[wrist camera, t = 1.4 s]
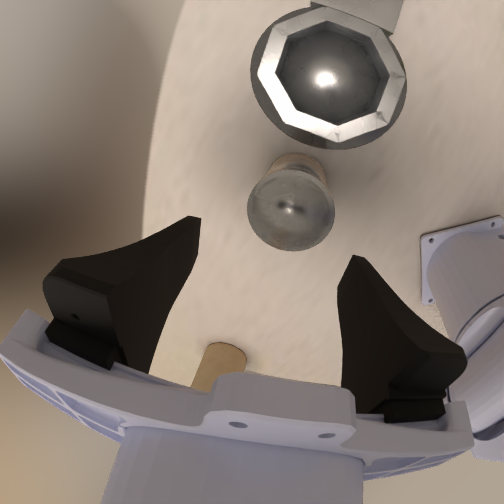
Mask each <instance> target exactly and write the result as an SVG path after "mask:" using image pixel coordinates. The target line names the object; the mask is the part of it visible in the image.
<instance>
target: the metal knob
mask: <svg viewBox="0 0 504 504" xmlns="http://www.w3.org/2000/svg"><path fill="white" fill-rule="evenodd" d="M247 214H248V219H249V222H250V225H251V227H252V229H253V230H254V232H255V233H256V234H257V235H258V237H259V238H261V239H262V240H263V241H264V242H266V243H267V244H269V245H270V246H272V247H275V248H277V249H280V250H285V251H301V250H306V249H309V248H311V247H314V246H315V245H317V244H319V243H320V242H321V241H322V240H323V239H324V238H325V237H326V236H327V235H328V234H329V232H330V230H331V228H332V226H333V223H334V219H335V207H334V201H333V197H332V195H331V192H330V190H329V189H328V187H327V181H326V176H325V172H324V170H323V168H322V166H321V165H320V164H319V163H318V162H317V161H316V160H315V159H314V158H312V157H310V156H308V155H306V154H302V153H290V154H286V155H283V156H281V157H280V158H278V159H277V160H276V161H275V162H274V163H273V164H272V166H271V167H270V169H269V171H268V173H267V175H265V176H264V177H262V178H261V179H260V180H259V181H258V183H257V184H256V185H255V187H254V188H253V190H252V192H251V194H250V196H249V199H248V204H247Z"/></svg>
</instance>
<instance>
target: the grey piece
mask: <svg viewBox="0 0 504 504" xmlns="http://www.w3.org/2000/svg"><path fill="white" fill-rule="evenodd" d="M402 4H403V0H311V7H308V8H303V9H299V10H296V11H293V12H290V13H288V14H286V15H284V16H282V17H281V18H279V19H278V20H276V21H275V22H274V23H273V24H271V25H270V26H269V27H268V28H267V29H266V30H265V32H264V33H263V34H262V35H261V37H260V39H259V40H258V42H257V44H256V46H255V49H254V51H253V55H252V59H251V68H250V72H251V82H252V88H253V91H254V94H255V97H256V99H257V101H258V103H259V105H260V107H261V108H262V110H263V111H264V113H265V114H266V115H267V117H268V118H269V119H270V120H271V121H272V122H273V123H274V124H275V125H276V126H277V127H278V128H279V129H280V130H282V131H283V132H284V133H286V134H287V135H289V136H290V137H292V138H294V139H296V140H298V141H300V142H302V143H304V144H307V145H311V146H314V147H318V148H323V149H333V150H339V149H350V148H355V147H359V146H362V145H365V144H367V143H370V142H372V141H374V140H375V139H377V138H379V137H380V136H381V135H383V134H384V133H385V132H386V131H388V129H389V128H390V127H391V126H392V125H393V124H394V122H395V121H396V120H397V118H398V117H399V115H400V112H401V110H402V108H403V105H404V102H405V98H406V91H407V80H406V73H405V68H404V65H403V62H402V59H401V57H400V55H399V53H398V51H397V49H396V47H395V46H394V44H393V43H392V42H391V40H390V39H389V38H388V37H389V36H390V35H392V34H393V33H394V30H395V26H396V23H397V20H398V17H399V14H400V10H401V7H402Z"/></svg>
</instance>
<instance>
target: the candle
mask: <svg viewBox="0 0 504 504" xmlns="http://www.w3.org/2000/svg"><path fill="white" fill-rule="evenodd" d="M245 366H246V356H245V354H244V353H243V352H242V351H241V350H239V349H238V348H236V347H234V346H232V345H229V344H225V343H213V344H211V345H209V346H208V347H207V349H206V351H205V353H204V355H203V358H202V360H201V363H200V365H199V368H198V370H197V373H196V375H195V378H194V380H193V382H192V385H191V387H190V388H194V389H198V390H202V391H208V392H211V388H212V384H213V382H214V381H215V380H216V379H217V378H218V377H219V376H220V375H223V374H227V373H232V372H244V369H245Z"/></svg>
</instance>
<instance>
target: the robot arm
mask: <svg viewBox="0 0 504 504" xmlns="http://www.w3.org/2000/svg"><path fill="white" fill-rule="evenodd" d="M492 222H493V224H492ZM491 224H492V225H491ZM503 225H504V220H503V218H502V217H501V216H497V217H494V218H490V219H486V220H482V221H478V222H474V223H470V224H467V225H463V226H459V227H455V228H451V229H447V230H443V231H439V232H435V233H430V234H426V235H423V236H422V237H421V239H420V246H421V302H422V304H423V305H428V304H432V303H436V304H437V307H438V309H439V312H440V314H441V317H442V320H443V322H444V325H445V328H446V331H447V333H448V336H449V339H450V340H449V339H448V338H446V337H444V336H443V335H442V334H440V333H439V332H437V331H436V330H435V329H433V328H432V327H431V326H429V325H428V324H427V323H426V322H424V321H423V320H422V319H421V318H420V317H419V316H417V315H416V314H415V313H414V312H413V311H412V310H411V309H410V308H409V307H408V306H407V305H406V304H405V303H404V302H403V301H402V300H401V299H400V298H399V297H398V296H397V294H396V293H395V292H394V291H393V290H392V289H391V288H390V286H389V285H388V284H387V283H386V282H385V281H384V279H383V278H382V277H381V276H380V274H379V273H378V272H377V271H376V270H375V268H374V267H373V266H372V265H371V264H370V263H369V262H368V261H367V260H366V259H365V258H364V257H360V256H357V255H352V258H351V260H350V262H349V264H348V266H347V268H346V270H345V272H344V274H343V277H342V279H341V281H340V283H339V285H338V287H337V306H338V314H339V322H340V329H341V337H342V349H343V359H342V380H341V387H338V386H335V385H327V384H319V383H311V382H304V381H297V380H291V379H284V378H279V377H273V376H268V375H262V374H257V373H248V372H232V373H227V374H223V375H220V376H219V377H218V378H217V379H216V380H215V381H214V382H213V384H212V388H211V392H208V391H202V390H198V389H194V388H190V387H187V386H183V385H180V384H177V383H173V382H170V381H167V380H164V379H161V378H158V377H155V376H152V375H149V374H148V373H149V370H150V366H151V363H152V359H153V356H154V353H155V350H156V347H157V344H158V341H159V338H160V335H161V333H162V330H163V327H164V325H165V322H166V319H167V317H168V314H169V312H170V310H171V308H172V306H173V304H174V302H175V300H176V298H177V296H178V295H179V293H180V291H181V289H182V287H183V286H184V284H185V282H186V280H187V278H188V276H189V275H190V273H191V271H192V268H193V266H194V263H195V261H196V258H197V256H198V248H199V237H200V227H201V218H198V217H193V216H187V217H185V218H183V219H181V220H179V221H178V222H176V223H174V224H172V225H170V226H169V227H167V228H165V229H163V230H161V231H159V232H157V233H155V234H153V235H151V236H149V237H147V238H145V239H143V240H140V241H138V242H136V243H133V244H131V245H128V246H125V247H122V248H118V249H115V250H112V251H108V252H104V253H100V254H95V255H90V256H84V257H77V258H68V259H62V260H61V261H60V262H59V263H58V264H57V265H56V266H55V267H54V268H53V270H52V271H51V272H50V273H49V274H48V275H47V276H46V277H45V278H44V280H43V292H44V295H45V298H46V300H47V303H48V305H49V307H50V310H51V312H52V314H53V316H54V319H53V320H52V322H51V323H49V322H48V321H47V320H46V319H45V318H43V317H42V316H40V315H38V314H36V313H34V312H33V311H31V310H29V309H27V310H26V311H25V312H24V313H23V315H22V316H21V317H20V318H19V320H18V321H17V322H16V324H15V325H14V327H13V328H12V329H11V331H10V332H9V333H8V335H7V336H6V338H5V339H4V340H3V342H2V343H1V345H0V358H1V359H2V360H3V361H4V363H5V364H6V365H7V366H8V368H9V369H10V370H11V371H12V372H13V374H14V375H15V376H16V377H17V378H18V379H19V380H20V382H21V383H22V384H23V385H25V386H26V387H27V388H29V389H30V390H32V391H33V392H34V393H36V394H37V395H39V396H40V397H42V398H43V399H44V400H46V401H47V402H49V403H50V404H52V405H53V406H55V407H56V408H58V409H59V410H61V411H63V412H64V413H66V414H67V415H69V416H71V417H72V418H74V419H75V420H77V421H79V422H81V423H82V424H84V425H86V426H88V427H89V428H91V429H93V430H95V431H97V432H98V433H100V434H102V435H104V436H106V437H108V438H110V439H112V440H114V441H116V442H118V443H120V444H121V445H120V448H119V451H118V454H117V456H116V459H115V462H114V465H113V468H112V470H111V473H110V476H109V479H108V482H107V485H106V488H105V491H104V494H103V497H102V500H101V504H363V481H366V480H373V479H379V478H385V477H390V476H395V475H400V474H405V473H409V472H414V471H418V470H422V469H426V468H430V467H434V466H438V465H440V464H442V463H444V462H446V461H448V460H450V459H452V458H454V457H456V456H458V455H460V454H462V453H464V452H466V451H468V450H469V449H470V450H471V452H472V455H473V457H474V458H478V459H483V460H489V461H500V462H504V228H503ZM430 238H432V240H431V241H429V239H430ZM430 299H431V300H430Z"/></svg>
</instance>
